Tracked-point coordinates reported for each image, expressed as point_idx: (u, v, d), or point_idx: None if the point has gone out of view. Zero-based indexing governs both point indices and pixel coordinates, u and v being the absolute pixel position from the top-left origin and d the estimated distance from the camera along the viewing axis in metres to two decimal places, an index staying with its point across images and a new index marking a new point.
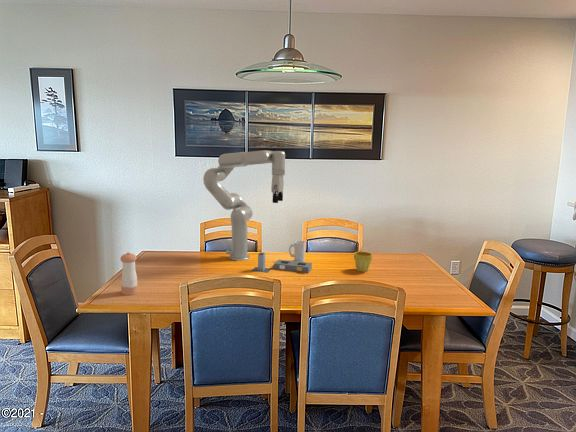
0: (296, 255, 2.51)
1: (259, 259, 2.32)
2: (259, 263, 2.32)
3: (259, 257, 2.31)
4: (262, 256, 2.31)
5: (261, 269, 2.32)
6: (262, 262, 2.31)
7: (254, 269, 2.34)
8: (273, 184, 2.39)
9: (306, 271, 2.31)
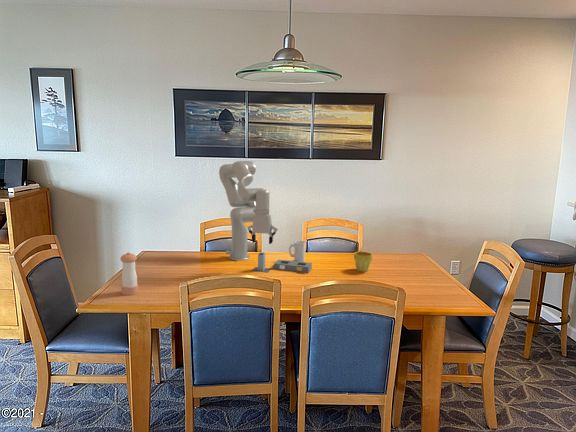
0: (296, 255, 2.51)
1: (259, 259, 2.32)
2: (259, 263, 2.32)
3: (259, 257, 2.31)
4: (262, 256, 2.31)
5: (261, 269, 2.32)
6: (262, 262, 2.31)
7: (254, 269, 2.34)
8: (270, 225, 2.27)
9: (306, 271, 2.31)
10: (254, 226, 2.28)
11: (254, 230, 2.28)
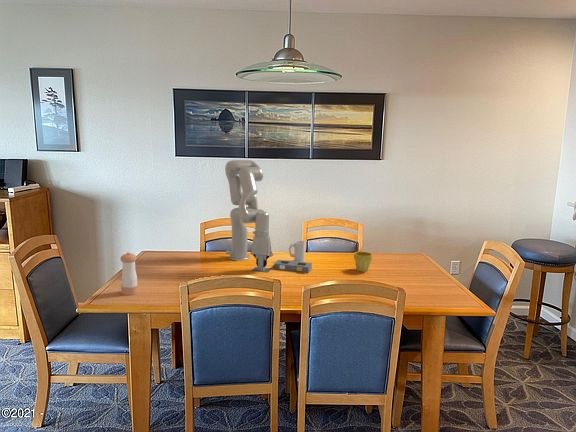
0: (296, 255, 2.51)
1: (259, 259, 2.32)
2: (259, 263, 2.32)
3: (259, 257, 2.31)
4: (262, 256, 2.31)
5: (261, 269, 2.32)
6: (262, 262, 2.31)
7: (254, 269, 2.34)
8: (269, 246, 2.29)
9: (306, 271, 2.31)
10: (254, 248, 2.30)
11: (253, 252, 2.31)
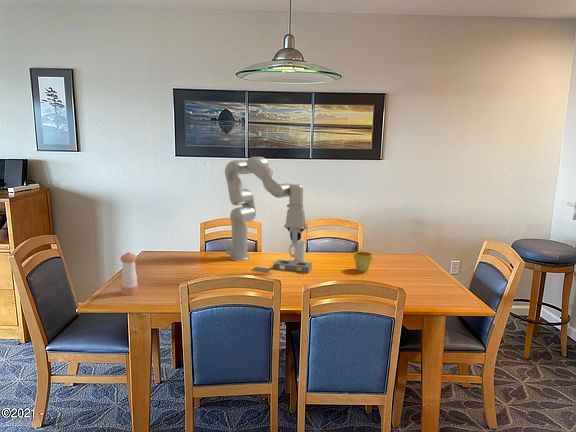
0: (296, 255, 2.51)
1: (293, 232, 2.31)
2: (293, 236, 2.31)
3: (293, 231, 2.31)
4: (296, 229, 2.30)
5: (295, 243, 2.31)
6: (296, 235, 2.31)
7: (254, 269, 2.34)
8: (304, 219, 2.28)
9: (306, 271, 2.31)
10: (288, 221, 2.30)
11: (288, 225, 2.30)
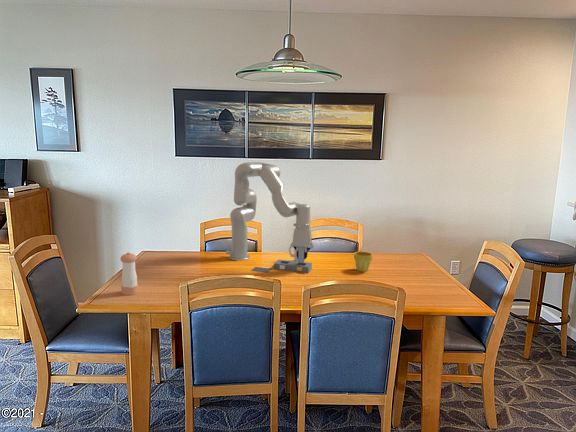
0: (296, 255, 2.51)
1: (299, 251, 2.33)
2: (300, 255, 2.34)
3: (300, 250, 2.33)
4: (303, 248, 2.33)
5: (301, 261, 2.34)
6: (303, 254, 2.33)
7: (254, 269, 2.34)
8: (310, 239, 2.31)
9: (306, 271, 2.31)
10: (294, 240, 2.32)
11: (294, 244, 2.32)
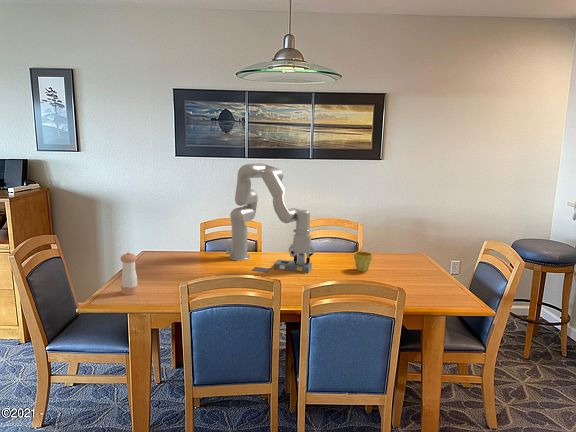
0: None
1: (299, 260, 2.34)
2: (299, 263, 2.34)
3: (299, 258, 2.34)
4: (302, 257, 2.33)
5: None
6: (302, 263, 2.34)
7: (254, 269, 2.34)
8: (310, 244, 2.31)
9: (306, 271, 2.31)
10: (294, 246, 2.33)
11: (294, 250, 2.33)
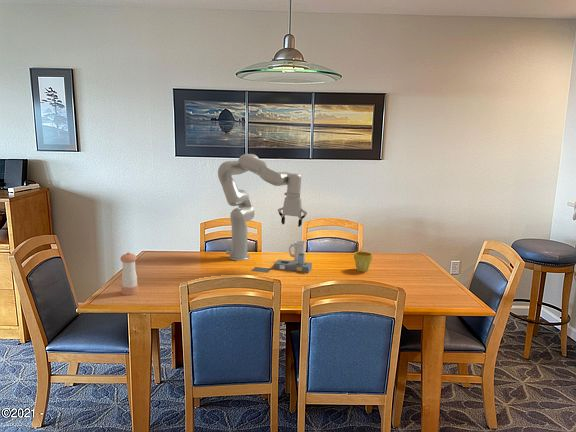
0: (296, 255, 2.51)
1: (299, 260, 2.34)
2: (299, 264, 2.34)
3: (299, 258, 2.34)
4: (302, 257, 2.33)
5: None
6: (302, 263, 2.34)
7: (254, 269, 2.34)
8: (300, 208, 2.34)
9: (306, 271, 2.31)
10: (285, 208, 2.35)
11: (284, 212, 2.36)
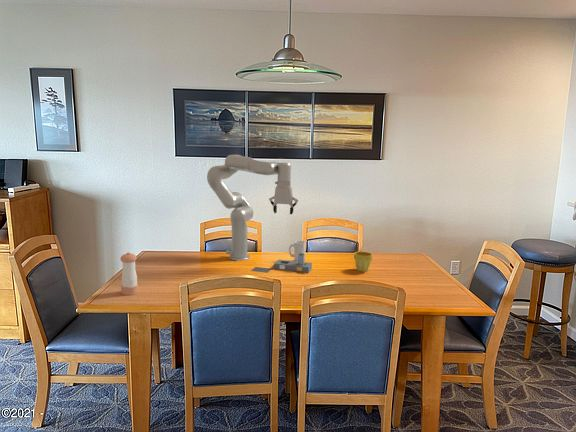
0: (296, 255, 2.51)
1: (299, 260, 2.34)
2: (299, 264, 2.34)
3: (299, 258, 2.34)
4: (302, 257, 2.33)
5: None
6: (302, 263, 2.34)
7: (254, 269, 2.34)
8: (291, 196, 2.39)
9: (306, 271, 2.31)
10: (276, 197, 2.40)
11: (276, 201, 2.40)
